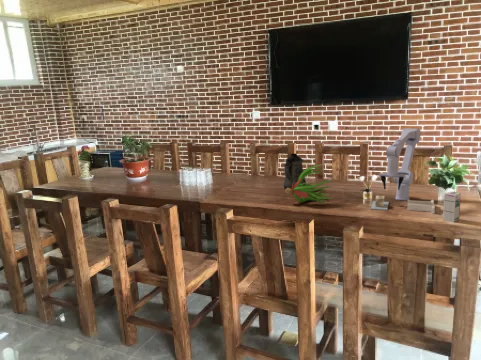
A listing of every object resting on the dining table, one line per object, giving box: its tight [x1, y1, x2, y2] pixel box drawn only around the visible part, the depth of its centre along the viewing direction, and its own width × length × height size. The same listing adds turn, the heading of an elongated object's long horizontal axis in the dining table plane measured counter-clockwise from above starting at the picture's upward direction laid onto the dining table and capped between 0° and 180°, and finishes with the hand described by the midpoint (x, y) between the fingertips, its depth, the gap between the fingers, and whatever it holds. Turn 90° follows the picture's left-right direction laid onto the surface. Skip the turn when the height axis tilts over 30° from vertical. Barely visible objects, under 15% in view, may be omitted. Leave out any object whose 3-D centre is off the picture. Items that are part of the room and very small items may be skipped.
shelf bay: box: [406, 199, 436, 215], centre depth 223 cm, size 16×14×4 cm
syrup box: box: [442, 190, 462, 223], centre depth 202 cm, size 6×6×14 cm
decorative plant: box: [284, 162, 334, 205], centre depth 246 cm, size 26×25×30 cm
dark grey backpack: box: [282, 153, 307, 190], centre depth 280 cm, size 16×19×25 cm
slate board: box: [370, 200, 390, 211], centre depth 232 cm, size 16×9×1 cm, turn 157°
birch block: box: [375, 195, 385, 207], centre depth 231 cm, size 4×7×5 cm, turn 158°
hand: (391, 189), depth 232 cm, fingers open, 7 cm apart
